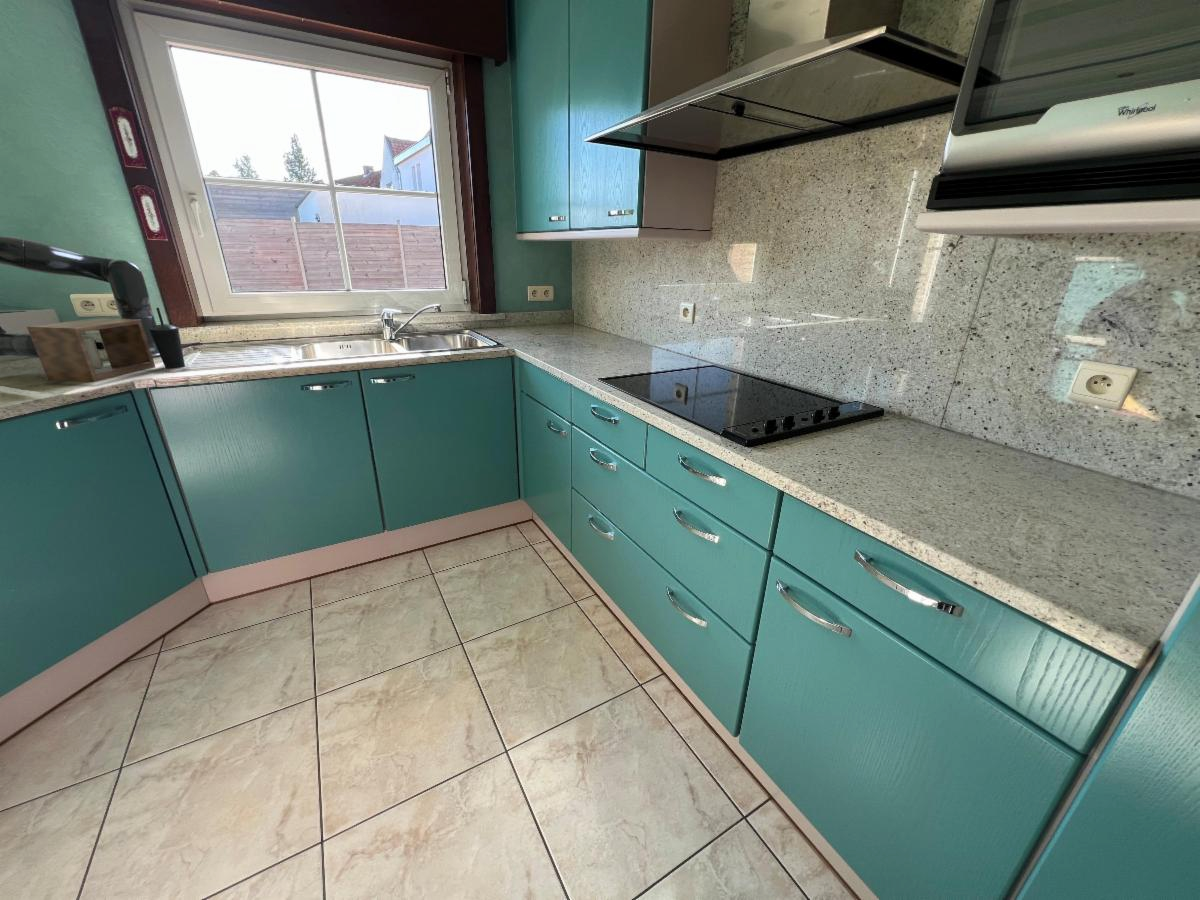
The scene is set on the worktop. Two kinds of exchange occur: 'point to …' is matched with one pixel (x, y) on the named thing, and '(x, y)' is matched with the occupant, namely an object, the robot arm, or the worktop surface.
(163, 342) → the drinking cup
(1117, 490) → the worktop surface
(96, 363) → the bottle
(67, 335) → the cabinet
